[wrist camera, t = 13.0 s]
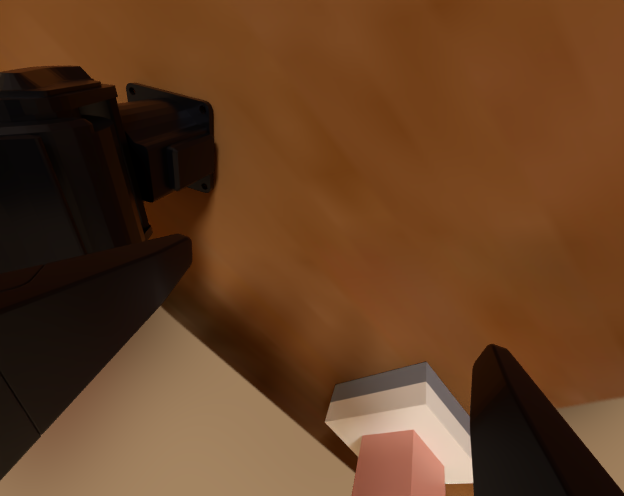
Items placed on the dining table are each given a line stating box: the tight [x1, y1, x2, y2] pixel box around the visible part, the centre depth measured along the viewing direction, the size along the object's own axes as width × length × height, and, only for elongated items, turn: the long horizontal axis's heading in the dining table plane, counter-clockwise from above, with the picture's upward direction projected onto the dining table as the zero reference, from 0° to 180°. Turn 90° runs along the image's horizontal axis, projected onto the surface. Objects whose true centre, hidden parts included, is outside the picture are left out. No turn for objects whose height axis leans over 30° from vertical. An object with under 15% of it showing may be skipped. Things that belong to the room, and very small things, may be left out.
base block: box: [325, 362, 473, 484], centre depth 29 cm, size 10×10×4 cm
